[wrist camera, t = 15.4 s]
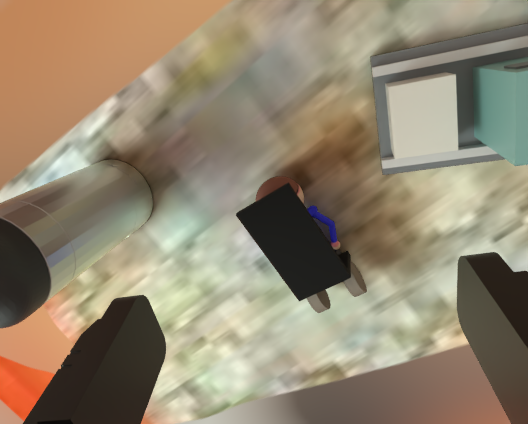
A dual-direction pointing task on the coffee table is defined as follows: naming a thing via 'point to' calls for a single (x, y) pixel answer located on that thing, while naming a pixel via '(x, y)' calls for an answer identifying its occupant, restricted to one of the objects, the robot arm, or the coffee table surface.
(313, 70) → the coffee table surface
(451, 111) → the mounted blocks
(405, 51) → the rail board
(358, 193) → the coffee table surface
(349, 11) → the coffee table surface
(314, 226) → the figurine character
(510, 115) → the block
